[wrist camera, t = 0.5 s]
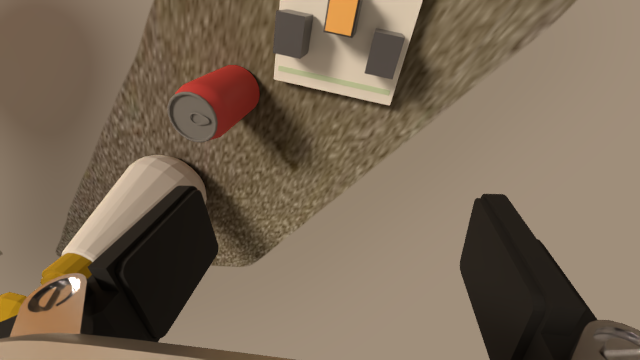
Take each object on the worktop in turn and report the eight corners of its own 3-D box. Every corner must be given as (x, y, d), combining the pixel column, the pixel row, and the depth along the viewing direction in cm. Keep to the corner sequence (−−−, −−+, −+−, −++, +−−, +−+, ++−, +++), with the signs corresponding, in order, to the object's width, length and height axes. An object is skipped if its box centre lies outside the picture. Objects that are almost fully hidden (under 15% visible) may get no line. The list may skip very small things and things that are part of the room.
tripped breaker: (336, -14, 31) (330, -16, 27) (364, -9, 30) (362, -9, 27) (329, 28, 33) (322, 32, 29) (355, 34, 33) (352, 38, 29)
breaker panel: (294, -109, 29) (275, -133, 24) (445, -81, 28) (459, -99, 23) (278, 75, 39) (262, 87, 34) (389, 100, 38) (390, 117, 33)
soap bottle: (139, 166, 52) (-77, 315, 28) (168, 133, 47) (-62, 279, 23) (195, 214, 56) (49, 382, 31) (227, 189, 51) (84, 364, 27)
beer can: (261, 115, 42) (222, 152, 32) (218, 107, 43) (167, 140, 33) (261, 68, 39) (219, 93, 29) (214, 59, 39) (157, 81, 29)
